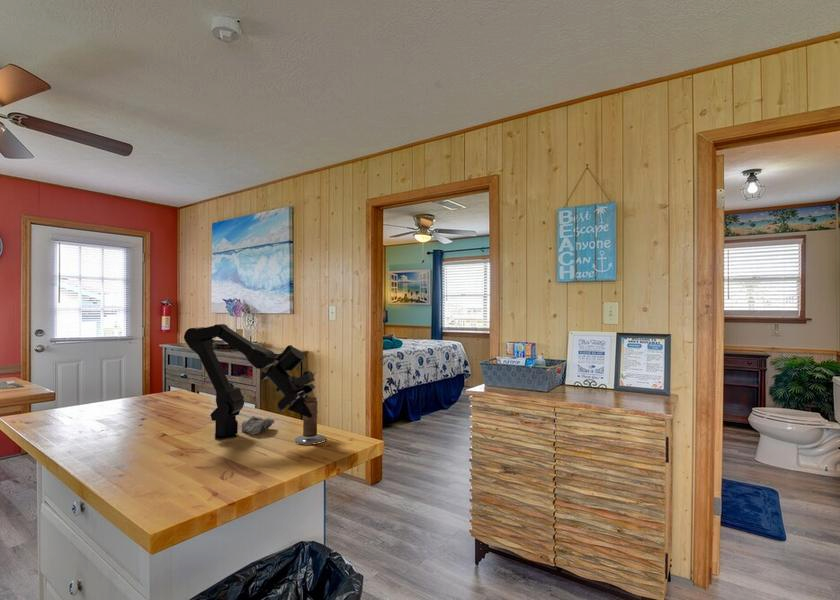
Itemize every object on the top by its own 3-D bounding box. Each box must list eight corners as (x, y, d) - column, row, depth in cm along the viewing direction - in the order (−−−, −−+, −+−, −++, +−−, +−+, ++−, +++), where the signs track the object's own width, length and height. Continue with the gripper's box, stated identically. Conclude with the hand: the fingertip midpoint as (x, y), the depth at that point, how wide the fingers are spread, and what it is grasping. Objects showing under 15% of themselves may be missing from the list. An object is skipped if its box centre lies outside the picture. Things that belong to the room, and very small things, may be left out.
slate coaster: (297, 446, 139) (297, 445, 139) (292, 438, 148) (292, 436, 148) (329, 442, 143) (329, 441, 143) (321, 434, 152) (321, 432, 152)
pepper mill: (307, 437, 143) (308, 393, 143) (300, 435, 146) (301, 391, 146) (319, 435, 146) (320, 391, 146) (312, 432, 149) (312, 389, 149)
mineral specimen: (253, 439, 149) (232, 430, 156) (279, 432, 158) (258, 425, 165) (254, 421, 149) (233, 414, 156) (281, 416, 158) (260, 409, 165)
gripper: (287, 367, 137) (321, 404, 136) (310, 360, 156) (340, 392, 154) (263, 392, 138) (296, 429, 137) (288, 381, 157) (317, 414, 155)
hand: (314, 415), depth 146 cm, fingers closed on pepper mill, 4 cm apart
